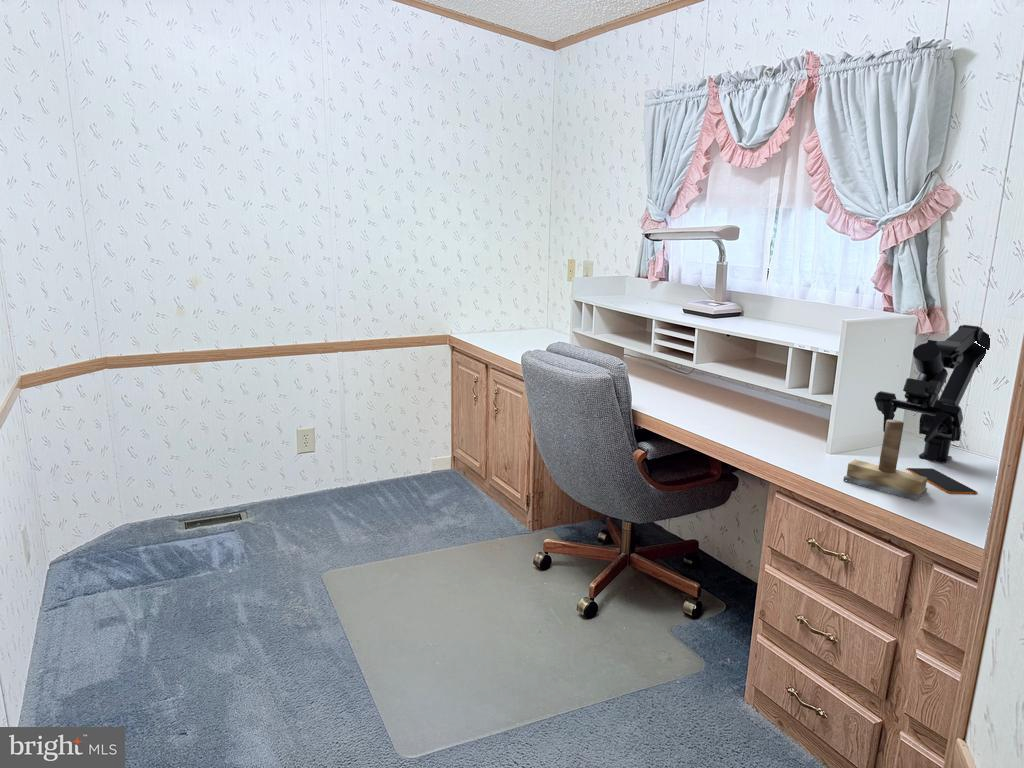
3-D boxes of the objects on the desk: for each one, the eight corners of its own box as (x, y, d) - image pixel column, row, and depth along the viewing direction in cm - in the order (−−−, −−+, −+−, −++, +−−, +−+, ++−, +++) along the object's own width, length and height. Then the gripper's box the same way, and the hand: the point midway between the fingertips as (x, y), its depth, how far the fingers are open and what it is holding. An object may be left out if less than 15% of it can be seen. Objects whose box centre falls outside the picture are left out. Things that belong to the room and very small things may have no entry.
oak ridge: (843, 480, 165) (845, 465, 164) (855, 473, 171) (857, 458, 170) (916, 500, 154) (919, 484, 153) (926, 491, 160) (929, 475, 159)
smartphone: (932, 470, 176) (933, 467, 176) (978, 495, 160) (979, 492, 159) (904, 470, 175) (904, 467, 175) (947, 495, 159) (948, 492, 159)
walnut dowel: (876, 467, 164) (884, 419, 161) (892, 468, 163) (900, 420, 160) (881, 472, 160) (889, 423, 158) (897, 473, 160) (906, 424, 157)
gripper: (883, 359, 171) (858, 409, 167) (967, 373, 158) (943, 427, 153) (890, 385, 178) (866, 433, 174) (972, 400, 165) (949, 453, 160)
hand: (904, 436), depth 165 cm, fingers open, 9 cm apart
